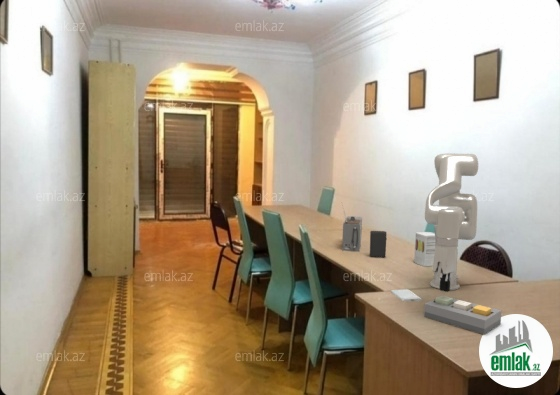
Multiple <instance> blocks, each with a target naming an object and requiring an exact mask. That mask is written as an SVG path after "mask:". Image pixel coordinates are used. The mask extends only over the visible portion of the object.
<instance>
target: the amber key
mask: <svg viewBox="0 0 560 395" xmlns="http://www.w3.org/2000/svg"><path fill="white" fill-rule="evenodd" d="M491 308H492V307H490V308H489V306H486V307H485V305H482V306H481V305H480V304H478V305H477V306H475V307H473V313H475V314H479V315H483V316H489V315H491Z"/></svg>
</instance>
